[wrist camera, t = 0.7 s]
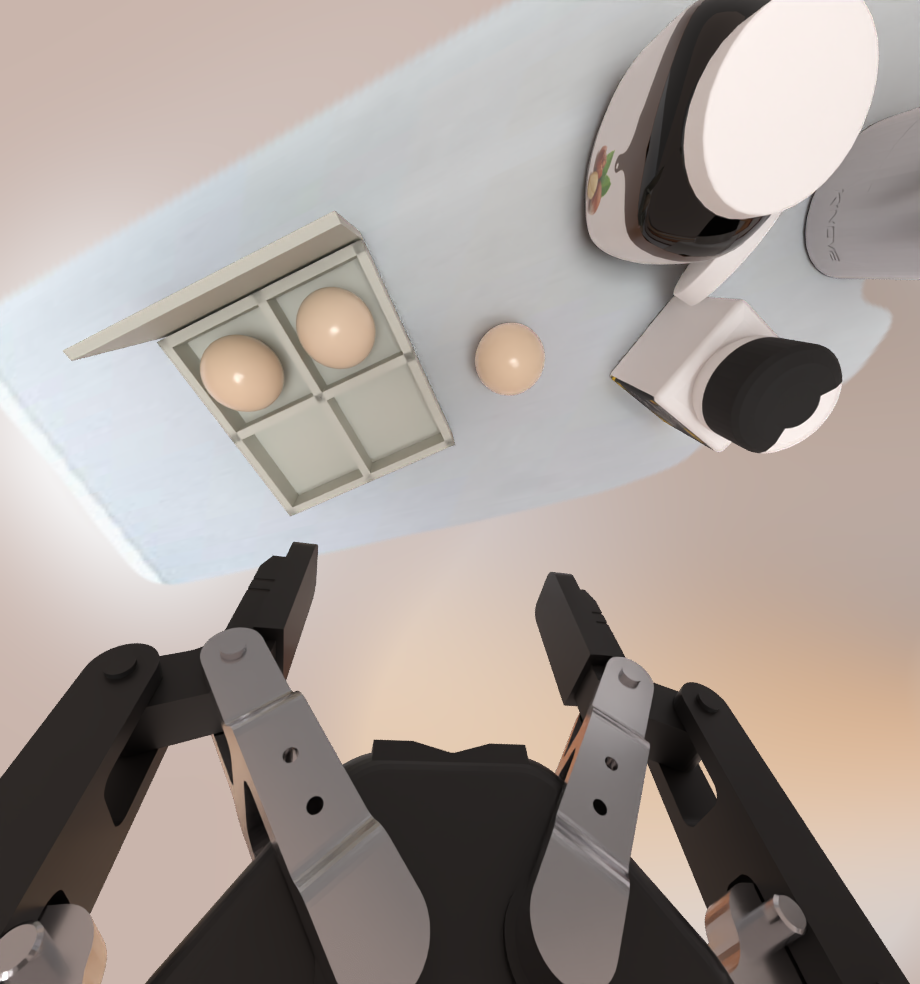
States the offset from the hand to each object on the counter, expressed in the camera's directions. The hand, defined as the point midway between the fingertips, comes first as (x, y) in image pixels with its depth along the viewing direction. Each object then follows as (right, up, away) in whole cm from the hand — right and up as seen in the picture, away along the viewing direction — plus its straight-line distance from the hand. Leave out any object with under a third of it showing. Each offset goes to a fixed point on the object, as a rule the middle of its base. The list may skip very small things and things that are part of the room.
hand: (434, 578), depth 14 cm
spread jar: (+14, +22, +13) cm, 29 cm away
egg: (+4, +13, +16) cm, 21 cm away
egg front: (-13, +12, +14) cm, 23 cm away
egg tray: (-9, +11, +16) cm, 21 cm away
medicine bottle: (+17, +13, +18) cm, 28 cm away
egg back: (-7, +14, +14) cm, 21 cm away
